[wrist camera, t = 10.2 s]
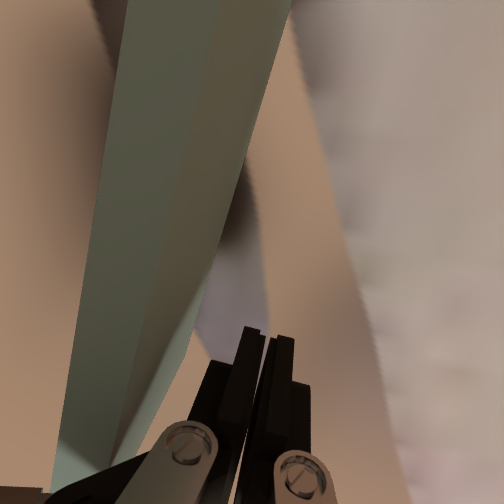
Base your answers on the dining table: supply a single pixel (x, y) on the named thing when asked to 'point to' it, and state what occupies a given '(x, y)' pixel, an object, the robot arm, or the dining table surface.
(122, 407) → the sage green panel
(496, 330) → the dining table surface
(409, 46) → the dining table surface
